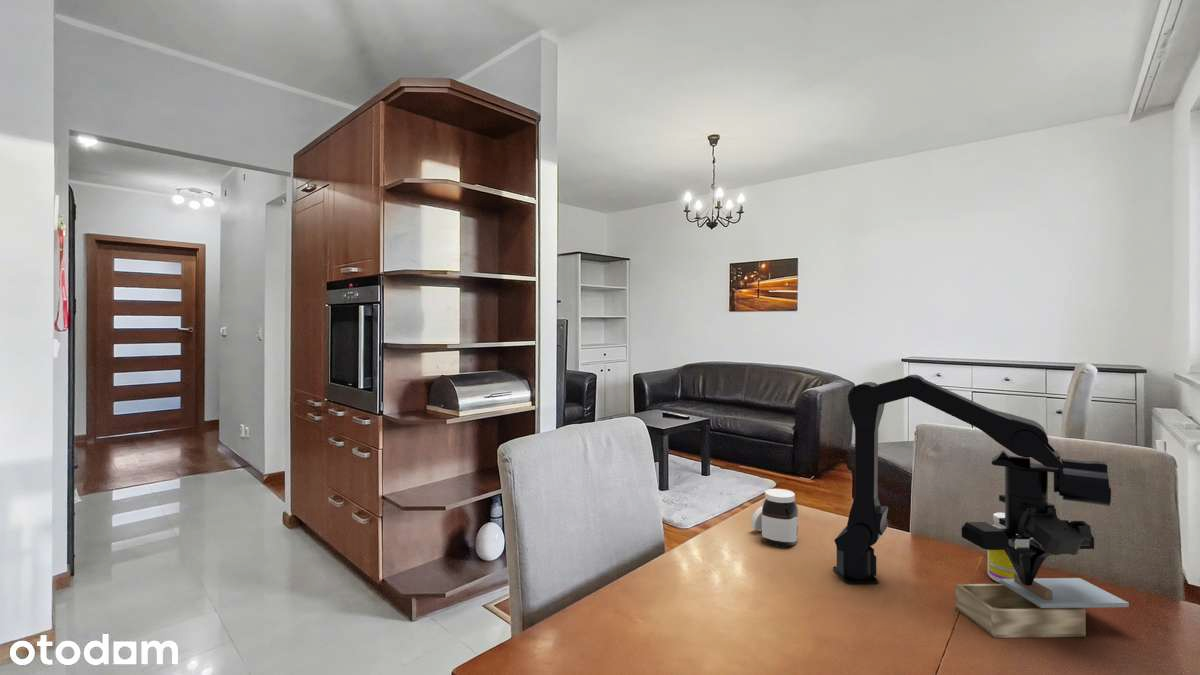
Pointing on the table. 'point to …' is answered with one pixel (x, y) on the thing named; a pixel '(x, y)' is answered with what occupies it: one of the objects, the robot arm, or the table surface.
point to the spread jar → (777, 518)
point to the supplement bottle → (999, 558)
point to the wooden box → (1016, 613)
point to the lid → (1063, 593)
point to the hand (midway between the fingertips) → (1026, 584)
